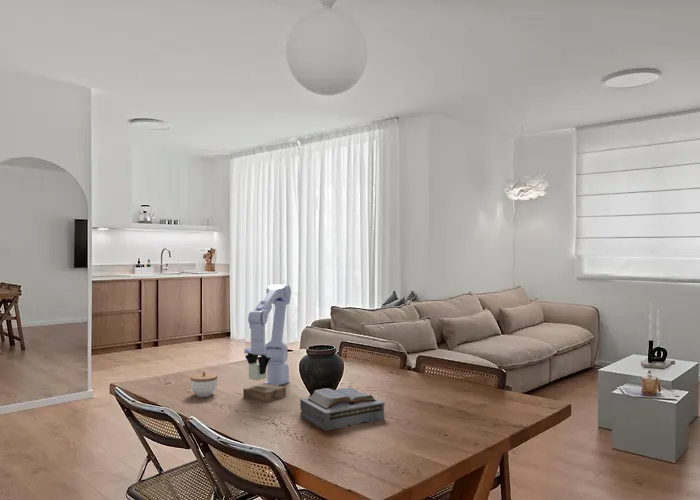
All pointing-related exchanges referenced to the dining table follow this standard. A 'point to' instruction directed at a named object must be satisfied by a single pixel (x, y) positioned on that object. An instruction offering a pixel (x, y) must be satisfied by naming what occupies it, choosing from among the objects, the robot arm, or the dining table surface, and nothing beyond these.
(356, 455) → the dining table surface
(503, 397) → the dining table surface
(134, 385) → the dining table surface
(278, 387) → the walnut box
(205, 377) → the lidded jar
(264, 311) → the robot arm
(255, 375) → the sage block
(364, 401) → the bible
